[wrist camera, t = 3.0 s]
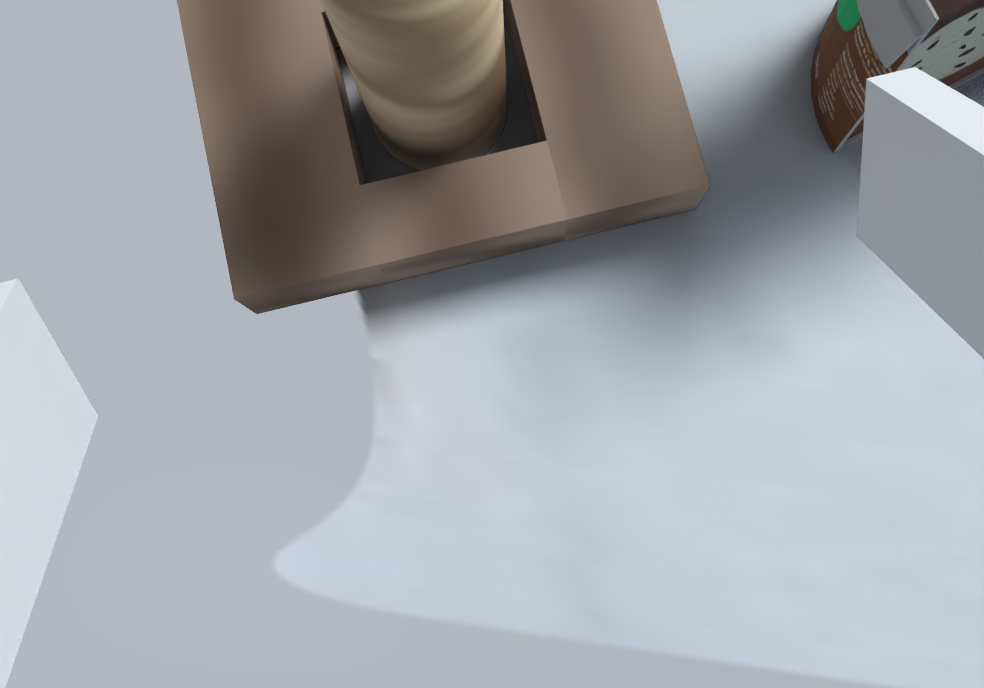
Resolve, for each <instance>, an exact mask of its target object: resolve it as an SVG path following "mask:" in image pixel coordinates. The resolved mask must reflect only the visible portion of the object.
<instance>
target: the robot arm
mask: <svg viewBox="0 0 984 688" xmlns="http://www.w3.org/2000/svg"><path fill="white" fill-rule="evenodd" d="M857 237H858V238H859V239H860V240H861V241H862V242H863V243H864V244H865V245H866V246H867V247H869V248H870V249H871V250H872V251H873V252H874V253H875V254H876V255H877V256H878V257H879V258H880V259H881V260H882V261H883V262H884V263H885V264H886V265H887V266H888V267H889V268H890V269H891V270H892V271H893V272H894V273H895V274H896V275H898V276H899V277H900V278H901V279H902V280H903V281H904V282H905V283H906V284H907V285H908V286H909V287H910V288H911V289H912V290H913V291H914V292H915V293H916V294H917V295H918V296H919V297H920V298H921V299H922V300H923V301H924V302H925V303H926V304H928V305H929V306H930V307H931V308H932V309H933V310H934V311H935V312H936V313H937V314H938V315H939V316H940V317H941V318H942V319H943V320H944V321H945V322H946V323H947V324H948V325H949V326H950V327H951V328H952V329H953V330H954V331H955V332H957V333H958V334H959V335H960V336H961V337H962V338H963V339H964V340H965V341H966V342H967V343H968V344H969V345H970V346H971V347H972V348H973V349H974V350H975V351H976V352H977V353H978V354H979V355H980V356H981V357H982V358H983V359H984V107H983V106H982V105H980V104H978V103H976V102H975V101H973V100H971V99H969V98H968V97H966V96H964V95H963V94H961V93H959V92H957V91H956V90H954V89H952V88H950V87H949V86H947V85H945V84H944V83H942V82H940V81H938V80H937V79H935V78H933V77H931V76H930V75H928V74H926V73H925V72H923V71H921V70H919V69H918V68H916V67H914V68H909V69H905V70H901V71H897V72H892V73H888V74H884V75H880V76H875V77H871V78H867V79H866V93H865V110H864V126H863V142H862V158H861V175H860V191H859V207H858V224H857ZM97 419H98V415H97V414H96V412H95V410H94V408H93V407H92V405H91V403H90V401H89V400H88V398H87V397H86V395H85V393H84V391H83V390H82V388H81V386H80V384H79V383H78V381H77V379H76V377H75V376H74V374H73V372H72V371H71V369H70V367H69V365H68V364H67V362H66V360H65V359H64V357H63V355H62V353H61V352H60V350H59V349H58V347H57V345H56V343H55V341H54V340H53V338H52V336H51V334H50V333H49V331H48V329H47V328H46V326H45V324H44V322H43V321H42V319H41V317H40V315H39V314H38V312H37V310H36V309H35V307H34V305H33V303H32V302H31V300H30V298H29V297H28V295H27V293H26V291H25V290H24V288H23V287H22V284H21V283H20V281H19V279H14V280H9V281H5V282H1V283H0V688H5V687H6V684H7V681H8V678H9V675H10V672H11V670H12V666H13V664H14V661H15V658H16V655H17V652H18V649H19V646H20V643H21V640H22V637H23V635H24V632H25V629H26V626H27V623H28V620H29V617H30V614H31V611H32V608H33V605H34V602H35V600H36V597H37V594H38V591H39V588H40V585H41V582H42V579H43V576H44V573H45V570H46V567H47V564H48V561H49V559H50V556H51V553H52V550H53V547H54V544H55V541H56V538H57V535H58V532H59V530H60V527H61V523H62V521H63V518H64V515H65V512H66V509H67V506H68V503H69V500H70V497H71V495H72V491H73V489H74V486H75V483H76V480H77V477H78V474H79V471H80V468H81V465H82V463H83V460H84V457H85V453H86V451H87V448H88V445H89V442H90V439H91V436H92V433H93V430H94V428H95V424H96V422H97Z"/></svg>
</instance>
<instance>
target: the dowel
mask: <svg viewBox="0 0 984 688" xmlns="http://www.w3.org/2000/svg"><path fill="white" fill-rule="evenodd" d="M321 2H322V5H323V7H324V9H325V12H326V14H327V17H328V19H329V21H330V24H331V26H332V29H333V31H334V33H335V36H336V38H337V41H338V43H339V45H340V48H341V50H342V53H343V55H344V57H345V60H346V62H347V64H348V67H349V69H350V72H351V74H352V76H353V79H354V81H355V84H356V86H357V88H358V91H359V93H360V96H361V98H362V100H363V103H364V105H365V108H366V110H367V112H368V115H369V117H370V119H371V122H372V124H373V127H374V129H375V131H376V134H377V136H378V138H379V140H380V141H381V143H382V144H383V146H384V147H385V148H386V149H387V150H388V152H389V153H390V154H392V155H393V156H394V157H395V158H396V159H398V160H399V161H401V162H402V163H404V164H406V165H408V166H410V167H413V168H416V169H418V170H426V169H430V168H434V167H438V166H442V165H447V164H451V163H455V162H459V161H463V160H468V159H472V158H476V157H480V156H484V155H485V154H486V153H487V152H488V151H489V150H490V149H491V148H492V147H493V145H494V144H495V143H496V141H497V140H498V138H499V136H500V135H501V133H502V130H503V128H504V125H505V121H506V117H507V108H508V106H507V83H506V61H505V39H504V17H503V0H321Z"/></svg>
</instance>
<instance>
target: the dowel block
mask: <svg viewBox="0 0 984 688" xmlns="http://www.w3.org/2000/svg"><path fill="white" fill-rule="evenodd" d="M177 3H178V8H179V13H180V19H181V24H182V29H183V34H184V39H185V45H186V50H187V55H188V60H189V66H190V71H191V76H192V81H193V86H194V92H195V97H196V102H197V107H198V112H199V118H200V123H201V128H202V133H203V139H204V143H205V149H206V154H207V159H208V164H209V170H210V175H211V180H212V186H213V191H214V195H215V201H216V206H217V212H218V217H219V222H220V227H221V233H222V238H223V243H224V248H225V253H226V259H227V264H228V269H229V274H230V280H231V284H232V290H233V295H234V299H235V300H236V301H238V302H240V303H241V304H243V305H244V306H246V307H247V308H249V309H250V310H252V311H253V312H255V313H256V314H259V313H263V312H267V311H271V310H275V309H280V308H284V307H288V306H292V305H296V304H301V303H305V302H309V301H313V300H317V299H321V298H326V297H330V296H334V295H338V294H342V293H347V292H351V291H355V290H359V289H363V288H368V287H372V286H376V285H380V284H384V283H388V282H393V281H397V280H401V279H405V278H409V277H414V276H418V275H422V274H426V273H430V272H434V271H439V270H443V269H447V268H451V267H455V266H460V265H464V264H468V263H472V262H476V261H481V260H485V259H489V258H493V257H497V256H501V255H506V254H510V253H514V252H518V251H522V250H527V249H531V248H535V247H539V246H543V245H547V244H552V243H556V242H560V241H564V240H568V239H573V238H577V237H581V236H585V235H589V234H593V233H598V232H602V231H606V230H610V229H614V228H619V227H623V226H627V225H631V224H635V223H640V222H644V221H648V220H652V219H656V218H660V217H665V216H669V215H673V214H677V213H681V212H686V211H690V210H694V209H696V208H697V206H698V205H699V203H700V201H701V200H702V198H703V196H704V195H705V193H706V191H707V190H708V188H709V186H710V183H709V179H708V176H707V173H706V169H705V166H704V162H703V159H702V155H701V152H700V148H699V145H698V142H697V138H696V135H695V131H694V128H693V124H692V121H691V118H690V114H689V111H688V107H687V104H686V100H685V97H684V93H683V90H682V87H681V83H680V80H679V76H678V73H677V69H676V66H675V62H674V59H673V56H672V52H671V49H670V45H669V42H668V38H667V35H666V31H665V28H664V25H663V21H662V18H661V14H660V11H659V7H658V4H657V1H656V0H503V8H504V10H505V13H506V17H507V21H508V25H509V29H510V33H511V37H512V41H513V44H514V48H515V52H516V56H517V60H518V64H519V68H520V71H521V75H522V79H523V83H524V87H525V91H526V95H527V98H528V102H529V106H530V110H531V114H532V118H533V122H534V126H535V129H536V133H537V137H538V141H539V143H535V144H530V145H526V146H522V147H518V148H514V149H509V150H505V151H501V152H497V153H493V154H488V155H484V156H480V157H476V158H472V159H468V160H463V161H459V162H455V163H451V164H447V165H442V166H438V167H434V168H430V169H426V170H421V171H417V172H413V173H409V174H405V175H401V176H396V177H392V178H388V179H384V180H380V181H375V182H371V183H366V178H365V174H364V169H363V165H362V160H361V156H360V151H359V147H358V142H357V138H356V133H355V129H354V124H353V120H352V115H351V111H350V106H349V102H348V97H347V93H346V88H345V84H344V79H343V75H342V70H341V66H340V61H339V57H338V52H337V47H340V45H339V43H338V41H337V38H336V36H335V33H334V31H333V29H332V26H331V24H330V21H329V19H328V17H327V14H326V12H325V9H324V7H323V5H322V2H321V0H177Z"/></svg>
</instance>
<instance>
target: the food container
mask: <svg viewBox="0 0 984 688" xmlns="http://www.w3.org/2000/svg"><path fill="white" fill-rule="evenodd" d="M914 67H916V68H918V69H919V70H921V71H923V72H925V73H926V74H928V75H930V76H931V77H933V78H935V79H937V80H938V81H940V82H942V83H944V84H945V85H947V86H949V87H950V88H952V89H954V88H956V87H958V86H960V85H962V84H964V83H965V82H967V81H969V80H971V79H973V78H975V77H977V76H979V75H981V74H982V73H984V0H837V1H836V3H835V6H834V8H833V10H832V12H831V14H830V16H829V18H828V20H827V23H826V25H825V27H824V29H823V31H822V33H821V35H820V38H819V41H818V44H817V47H816V50H815V53H814V57H813V63H812V70H811V95H812V101H813V106H814V111H815V115H816V118H817V121H818V124H819V127H820V129H821V132H822V134H823V136H824V138H825V140H826V142H827V143H828V145H829V147H830V149H831V151H832V153H834V152H836V151H838V150H840V149H842V148H844V147H845V146H847V145H849V144H851V143H853V142H855V141H857V140H859V139H860V138H862V137H863V126H864V110H865V93H866V79H867V78H871V77H875V76H880V75H884V74H888V73H892V72H897V71H901V70H905V69H909V68H914Z"/></svg>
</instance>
